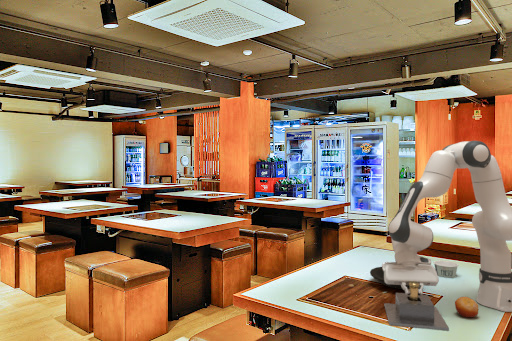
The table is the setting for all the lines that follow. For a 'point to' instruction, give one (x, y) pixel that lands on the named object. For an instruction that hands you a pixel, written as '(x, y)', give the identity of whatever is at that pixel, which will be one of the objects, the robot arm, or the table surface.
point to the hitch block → (414, 313)
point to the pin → (414, 291)
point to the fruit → (466, 307)
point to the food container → (446, 268)
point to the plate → (379, 276)
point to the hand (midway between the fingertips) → (414, 294)
